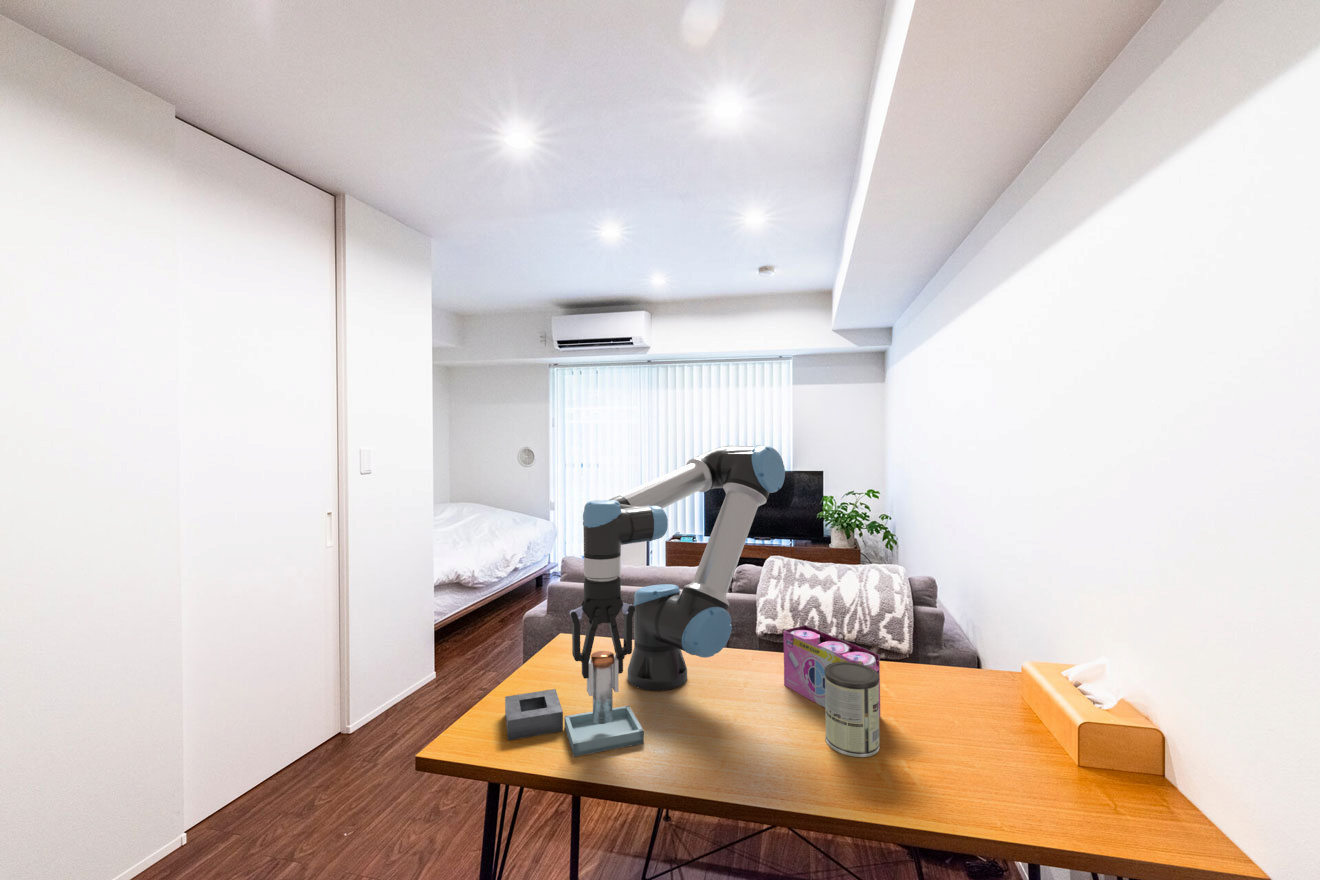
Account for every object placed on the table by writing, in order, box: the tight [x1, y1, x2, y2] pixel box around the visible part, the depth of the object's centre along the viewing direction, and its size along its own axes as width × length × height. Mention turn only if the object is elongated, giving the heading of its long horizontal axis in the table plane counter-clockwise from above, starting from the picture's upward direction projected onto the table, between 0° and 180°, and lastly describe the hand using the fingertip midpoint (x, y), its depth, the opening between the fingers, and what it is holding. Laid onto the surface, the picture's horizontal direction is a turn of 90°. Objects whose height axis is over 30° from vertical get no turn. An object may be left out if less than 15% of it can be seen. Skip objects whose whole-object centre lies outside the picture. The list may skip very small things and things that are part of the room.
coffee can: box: [824, 662, 881, 758], centre depth 108 cm, size 10×10×14 cm
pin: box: [590, 650, 615, 724], centre depth 111 cm, size 5×5×13 cm
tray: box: [564, 705, 645, 757], centre depth 111 cm, size 14×11×2 cm
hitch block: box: [504, 688, 564, 741], centre depth 116 cm, size 11×11×4 cm
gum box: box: [783, 625, 881, 718], centre depth 125 cm, size 24×8×14 cm, turn 30°
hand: (602, 690), depth 111 cm, fingers closed on pin, 4 cm apart
